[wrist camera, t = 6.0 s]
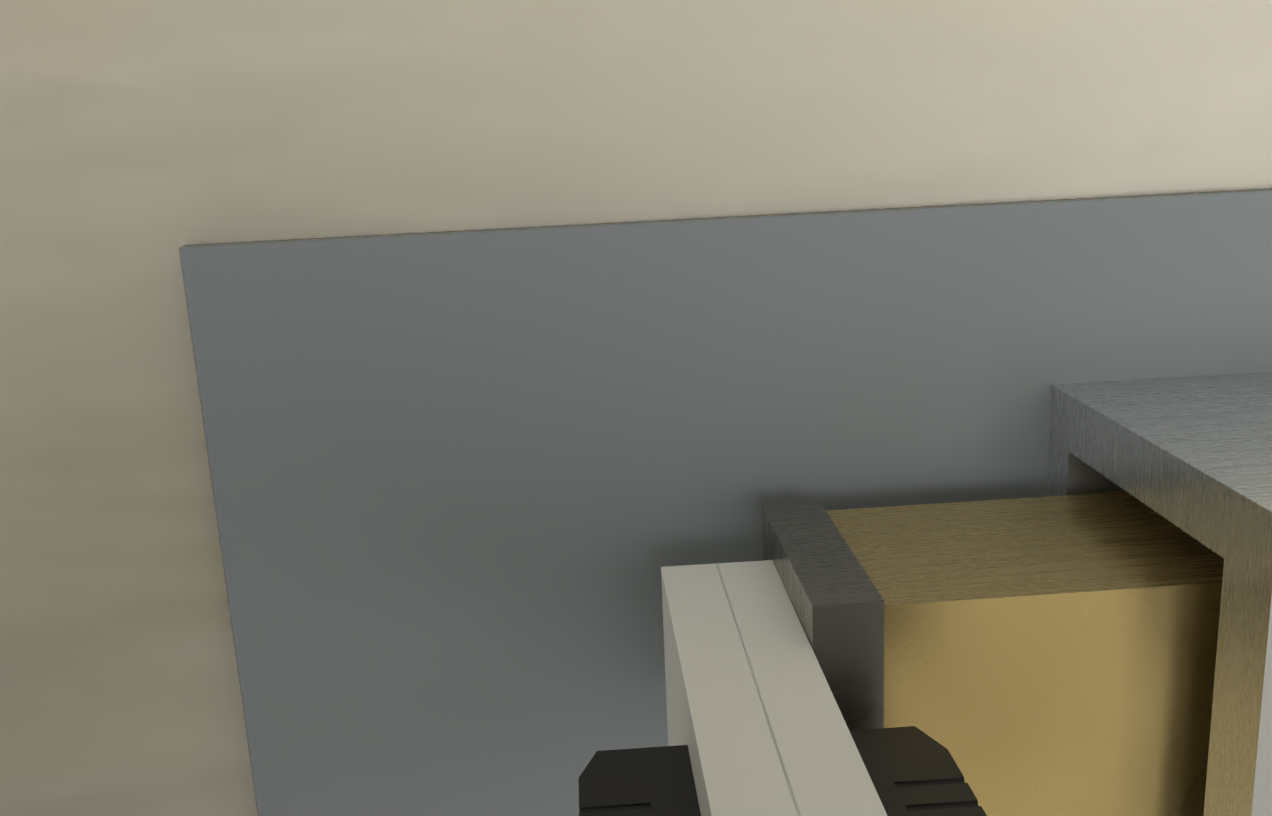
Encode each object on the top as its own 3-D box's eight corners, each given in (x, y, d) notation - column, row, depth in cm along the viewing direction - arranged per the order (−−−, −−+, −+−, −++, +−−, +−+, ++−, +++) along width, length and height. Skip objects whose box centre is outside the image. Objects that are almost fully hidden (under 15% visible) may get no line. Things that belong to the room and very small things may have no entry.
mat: (281, 938, 19) (277, 951, 19) (185, 244, 16) (179, 247, 16) (2004, 802, 21) (2024, 811, 20) (2178, 141, 18) (2204, 142, 18)
